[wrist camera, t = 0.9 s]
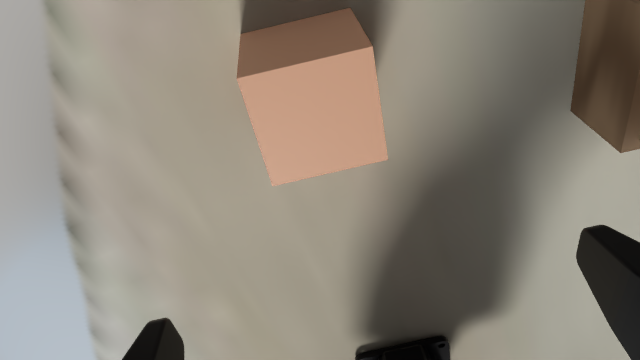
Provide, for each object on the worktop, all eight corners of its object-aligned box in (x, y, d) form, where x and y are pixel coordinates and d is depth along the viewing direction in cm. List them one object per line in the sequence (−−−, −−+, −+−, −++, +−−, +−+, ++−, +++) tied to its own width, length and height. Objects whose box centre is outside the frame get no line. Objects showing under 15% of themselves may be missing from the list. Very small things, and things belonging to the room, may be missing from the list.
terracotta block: (365, 105, 21) (388, 159, 18) (269, 128, 21) (272, 186, 18) (350, 7, 19) (372, 46, 15) (240, 33, 19) (236, 78, 15)
